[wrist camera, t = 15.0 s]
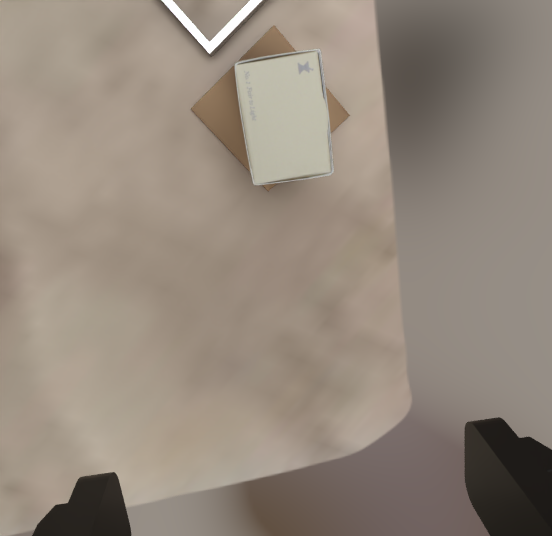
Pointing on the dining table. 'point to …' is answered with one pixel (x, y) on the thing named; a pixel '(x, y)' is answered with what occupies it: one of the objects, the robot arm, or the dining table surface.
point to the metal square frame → (225, 33)
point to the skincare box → (285, 116)
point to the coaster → (225, 106)
